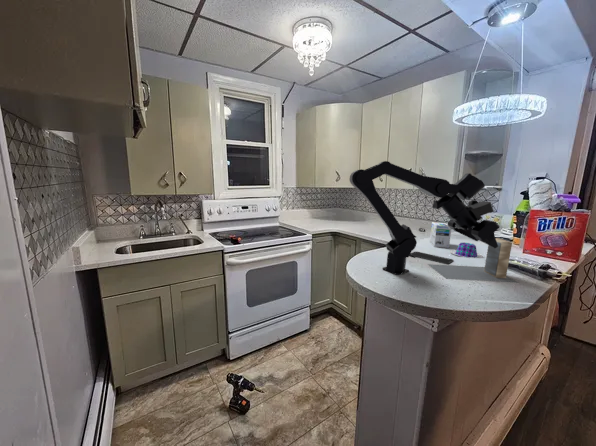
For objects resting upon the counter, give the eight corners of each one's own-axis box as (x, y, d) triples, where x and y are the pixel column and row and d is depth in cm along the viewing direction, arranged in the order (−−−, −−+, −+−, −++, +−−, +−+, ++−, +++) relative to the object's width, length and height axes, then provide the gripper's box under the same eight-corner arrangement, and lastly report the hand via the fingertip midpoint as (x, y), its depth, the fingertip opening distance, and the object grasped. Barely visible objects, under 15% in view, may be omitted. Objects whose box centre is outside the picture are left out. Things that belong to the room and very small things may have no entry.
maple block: (495, 277, 81) (501, 242, 79) (483, 271, 87) (488, 237, 85) (505, 278, 81) (512, 242, 79) (493, 271, 87) (498, 238, 85)
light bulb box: (449, 248, 119) (452, 226, 117) (433, 247, 121) (436, 225, 119) (443, 243, 129) (445, 222, 127) (428, 242, 131) (431, 221, 129)
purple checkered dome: (485, 256, 108) (487, 244, 107) (478, 261, 100) (480, 249, 99) (454, 250, 117) (456, 239, 116) (445, 254, 109) (447, 243, 108)
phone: (415, 251, 109) (454, 259, 99) (415, 253, 110) (454, 262, 99) (407, 254, 104) (447, 263, 93) (407, 257, 104) (447, 266, 93)
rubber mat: (446, 279, 80) (446, 278, 80) (427, 265, 93) (427, 264, 93) (519, 283, 78) (519, 282, 78) (488, 268, 92) (489, 267, 92)
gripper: (497, 194, 71) (531, 233, 72) (460, 191, 89) (488, 222, 90) (464, 220, 73) (498, 258, 74) (435, 212, 91) (462, 242, 92)
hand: (486, 243), depth 83 cm, fingers open, 9 cm apart
